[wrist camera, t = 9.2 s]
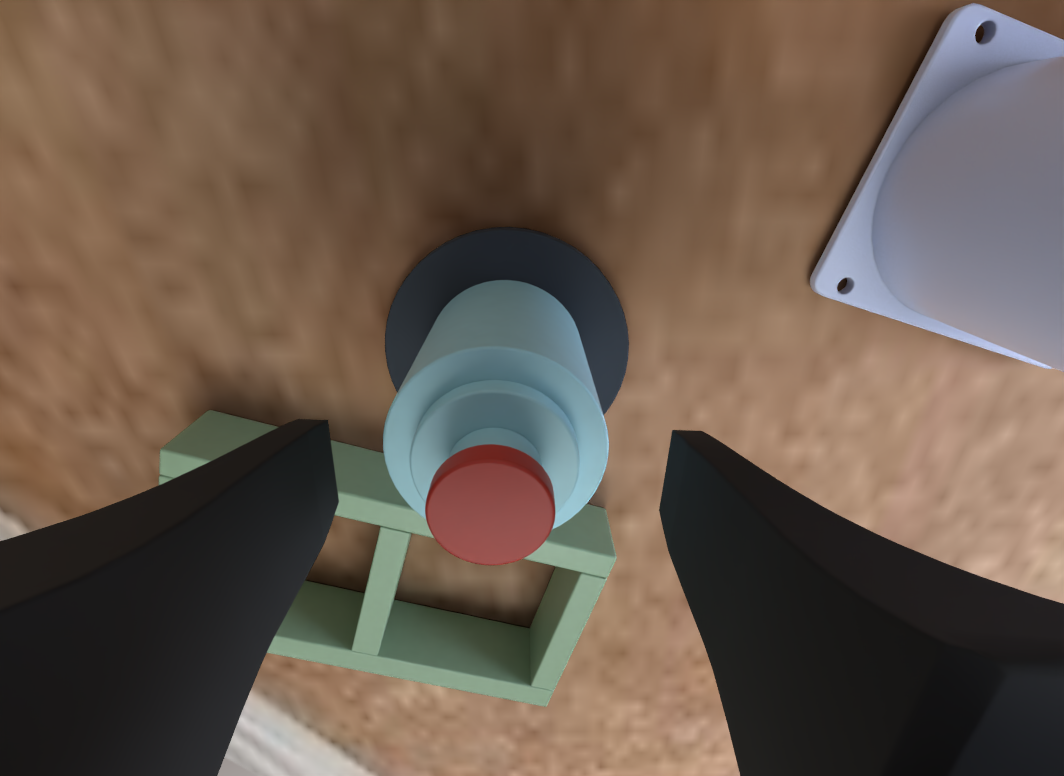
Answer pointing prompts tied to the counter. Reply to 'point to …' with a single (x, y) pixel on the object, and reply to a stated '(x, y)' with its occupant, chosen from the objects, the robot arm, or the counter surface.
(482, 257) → the coaster
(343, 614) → the bottle rack
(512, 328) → the bottle
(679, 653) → the counter surface
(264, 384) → the counter surface
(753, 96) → the counter surface
